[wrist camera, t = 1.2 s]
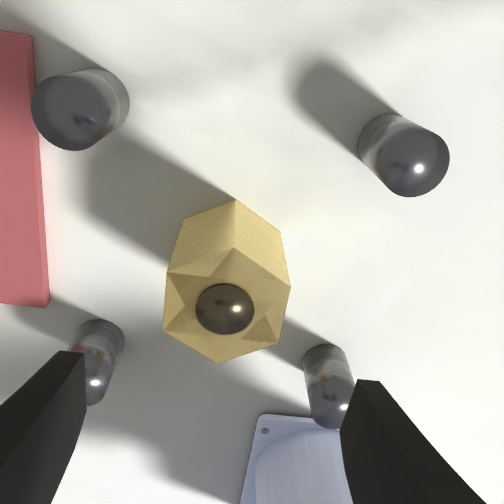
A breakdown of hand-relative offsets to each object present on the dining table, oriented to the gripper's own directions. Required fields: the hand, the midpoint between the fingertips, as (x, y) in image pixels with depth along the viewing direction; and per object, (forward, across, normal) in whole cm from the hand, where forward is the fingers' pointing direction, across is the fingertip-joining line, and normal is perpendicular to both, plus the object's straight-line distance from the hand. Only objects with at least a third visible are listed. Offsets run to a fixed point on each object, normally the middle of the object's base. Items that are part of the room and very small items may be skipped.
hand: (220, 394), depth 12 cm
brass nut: (+10, 0, +1) cm, 10 cm away
